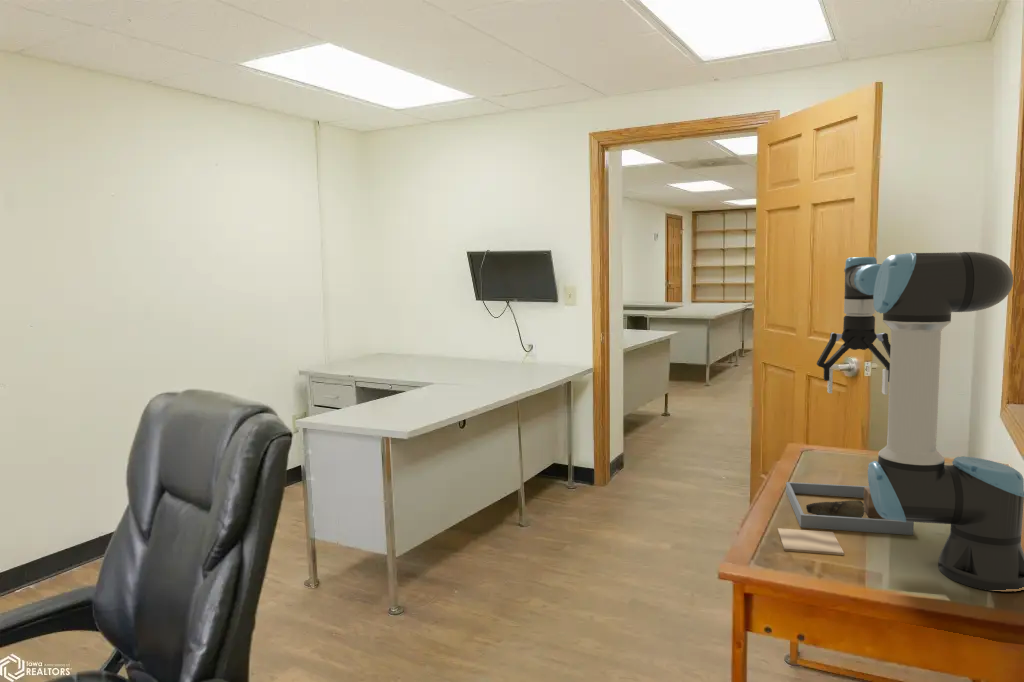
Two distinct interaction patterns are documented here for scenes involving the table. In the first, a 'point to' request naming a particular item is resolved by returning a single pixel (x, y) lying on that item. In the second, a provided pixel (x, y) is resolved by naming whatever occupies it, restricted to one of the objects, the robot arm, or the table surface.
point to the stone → (837, 508)
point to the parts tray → (839, 521)
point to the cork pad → (810, 541)
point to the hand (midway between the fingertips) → (856, 393)
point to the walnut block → (869, 504)
